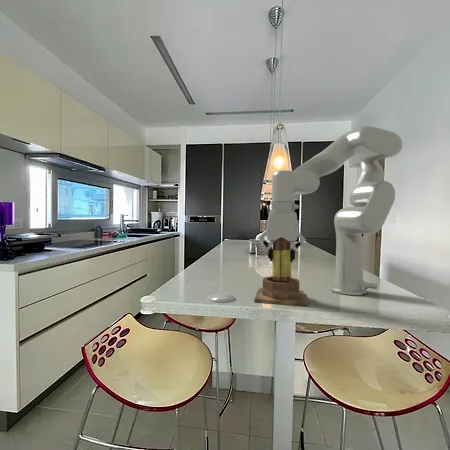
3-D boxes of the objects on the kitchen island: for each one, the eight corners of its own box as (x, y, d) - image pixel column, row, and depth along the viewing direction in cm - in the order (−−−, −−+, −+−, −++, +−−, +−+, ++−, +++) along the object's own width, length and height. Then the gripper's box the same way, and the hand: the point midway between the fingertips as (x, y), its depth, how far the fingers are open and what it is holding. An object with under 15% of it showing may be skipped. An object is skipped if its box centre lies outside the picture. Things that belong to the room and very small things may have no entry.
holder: (303, 293, 103) (303, 276, 103) (306, 306, 87) (307, 286, 87) (258, 290, 106) (259, 274, 106) (254, 302, 90) (254, 283, 90)
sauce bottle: (291, 279, 98) (293, 222, 98) (289, 283, 92) (292, 221, 92) (272, 277, 100) (274, 221, 100) (269, 281, 95) (271, 221, 94)
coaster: (236, 297, 97) (236, 294, 97) (232, 304, 88) (232, 302, 88) (211, 295, 99) (211, 293, 99) (204, 302, 90) (204, 300, 90)
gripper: (308, 209, 98) (306, 261, 98) (258, 208, 102) (256, 258, 102) (310, 207, 91) (308, 264, 91) (256, 207, 94) (254, 261, 94)
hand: (281, 260), depth 96 cm, fingers closed on sauce bottle, 6 cm apart
